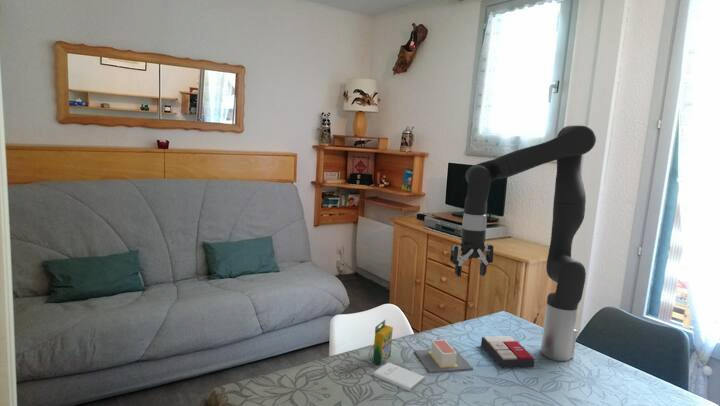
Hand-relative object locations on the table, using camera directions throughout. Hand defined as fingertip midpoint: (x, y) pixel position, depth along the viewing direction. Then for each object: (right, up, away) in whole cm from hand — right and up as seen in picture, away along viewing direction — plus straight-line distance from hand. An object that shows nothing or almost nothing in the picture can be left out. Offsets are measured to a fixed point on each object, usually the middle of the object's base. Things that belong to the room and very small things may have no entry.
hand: (470, 275), depth 147 cm
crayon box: (-30, -25, -8) cm, 39 cm away
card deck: (-10, -25, -7) cm, 28 cm away
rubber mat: (-10, -26, -7) cm, 28 cm away
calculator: (+11, -27, -1) cm, 29 cm away
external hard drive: (-25, -27, -18) cm, 41 cm away
